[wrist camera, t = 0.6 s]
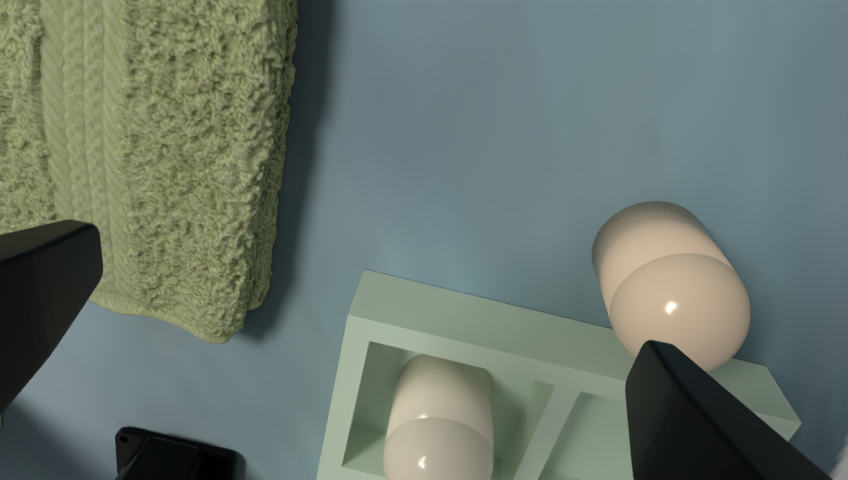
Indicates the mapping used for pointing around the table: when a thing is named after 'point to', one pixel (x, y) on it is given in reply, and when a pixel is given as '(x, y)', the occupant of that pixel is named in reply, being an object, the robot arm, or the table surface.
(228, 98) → the washcloth
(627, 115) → the table surface
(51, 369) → the table surface
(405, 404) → the egg
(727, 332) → the brown egg
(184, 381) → the table surface
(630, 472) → the egg tray
